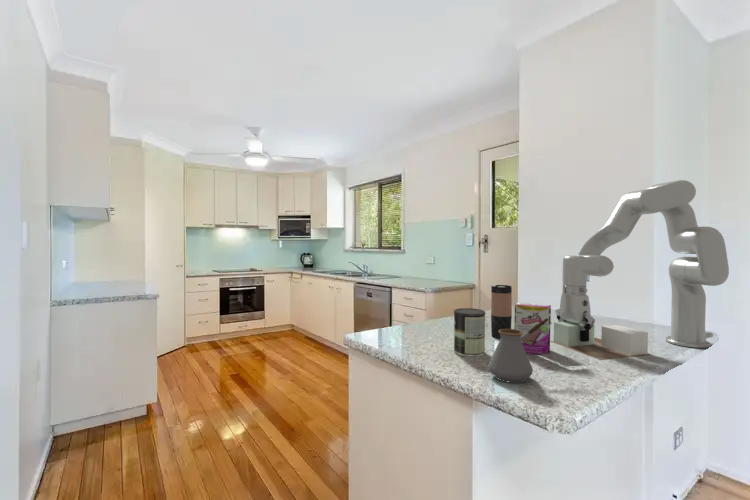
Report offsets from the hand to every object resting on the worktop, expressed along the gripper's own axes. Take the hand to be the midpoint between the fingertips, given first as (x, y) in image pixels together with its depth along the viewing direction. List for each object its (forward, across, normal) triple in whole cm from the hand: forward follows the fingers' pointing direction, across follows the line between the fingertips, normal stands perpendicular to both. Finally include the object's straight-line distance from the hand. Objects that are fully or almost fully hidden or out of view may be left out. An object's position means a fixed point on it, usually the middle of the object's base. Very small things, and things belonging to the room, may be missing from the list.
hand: (573, 337), depth 134 cm
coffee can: (+3, +2, +40) cm, 40 cm away
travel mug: (+3, +18, +18) cm, 25 cm away
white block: (+2, -12, -10) cm, 15 cm away
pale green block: (+2, 0, 0) cm, 2 cm away
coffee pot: (+3, -20, +36) cm, 42 cm away
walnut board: (+3, -7, -4) cm, 8 cm away
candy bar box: (+3, -4, +20) cm, 21 cm away
